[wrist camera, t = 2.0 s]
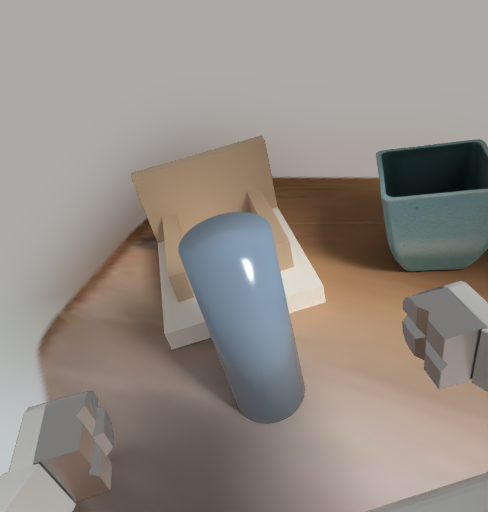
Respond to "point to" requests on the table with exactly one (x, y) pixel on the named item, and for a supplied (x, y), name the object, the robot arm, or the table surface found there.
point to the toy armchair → (209, 205)
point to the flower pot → (435, 204)
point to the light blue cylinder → (246, 312)
